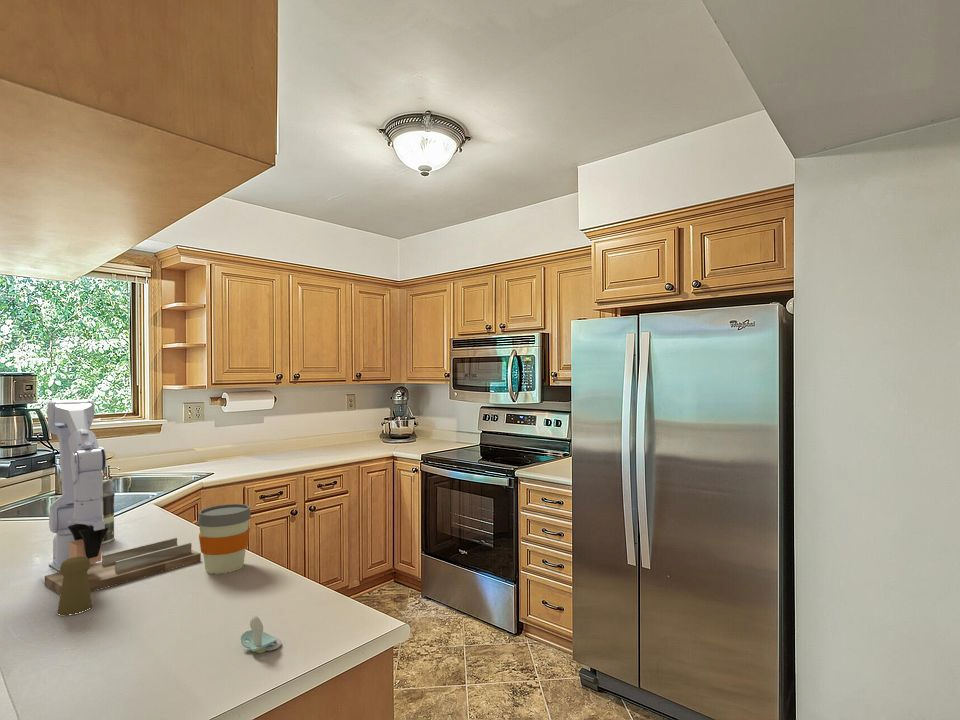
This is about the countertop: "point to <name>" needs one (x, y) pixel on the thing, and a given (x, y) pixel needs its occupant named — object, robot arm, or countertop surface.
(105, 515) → the coffee can
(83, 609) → the cork
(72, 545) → the block
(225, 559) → the reusable coffee cup
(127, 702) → the countertop surface
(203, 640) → the countertop surface
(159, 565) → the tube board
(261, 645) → the pacifier
